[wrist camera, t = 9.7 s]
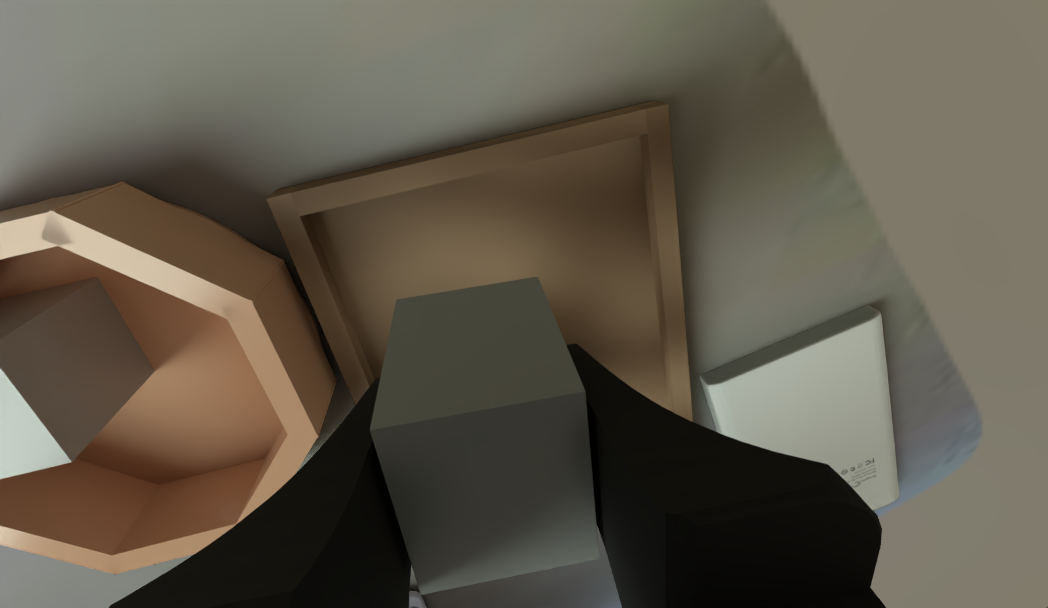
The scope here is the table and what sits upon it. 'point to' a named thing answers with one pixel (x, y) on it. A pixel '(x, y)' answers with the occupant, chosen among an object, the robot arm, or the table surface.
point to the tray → (508, 242)
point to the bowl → (168, 380)
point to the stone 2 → (484, 436)
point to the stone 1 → (62, 373)
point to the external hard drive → (816, 401)
